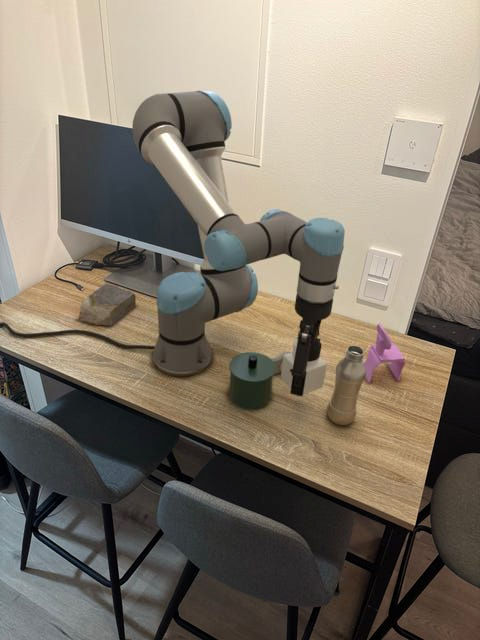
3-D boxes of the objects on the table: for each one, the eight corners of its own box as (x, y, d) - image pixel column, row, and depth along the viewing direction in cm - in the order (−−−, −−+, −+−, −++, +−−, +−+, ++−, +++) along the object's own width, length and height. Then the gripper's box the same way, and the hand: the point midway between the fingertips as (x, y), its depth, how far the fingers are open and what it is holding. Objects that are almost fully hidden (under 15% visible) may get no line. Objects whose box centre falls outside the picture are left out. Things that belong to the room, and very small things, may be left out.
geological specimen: (137, 290, 147) (107, 312, 135) (137, 307, 150) (108, 330, 138) (107, 281, 150) (75, 302, 138) (108, 298, 153) (77, 320, 141)
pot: (230, 409, 114) (231, 381, 109) (228, 381, 122) (230, 354, 117) (272, 409, 115) (275, 381, 110) (268, 381, 123) (271, 354, 118)
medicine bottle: (304, 369, 115) (311, 328, 109) (323, 387, 110) (331, 345, 104) (279, 378, 112) (284, 336, 106) (297, 397, 107) (304, 354, 100)
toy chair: (402, 383, 125) (417, 336, 116) (370, 385, 123) (382, 337, 115) (390, 363, 132) (403, 317, 123) (359, 364, 130) (370, 318, 122)
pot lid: (229, 384, 109) (230, 372, 107) (228, 355, 118) (228, 343, 116) (277, 385, 110) (279, 372, 108) (272, 355, 119) (273, 343, 117)
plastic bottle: (338, 404, 117) (353, 337, 106) (359, 421, 113) (378, 353, 101) (319, 415, 114) (333, 347, 103) (340, 433, 109) (357, 364, 98)
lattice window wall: (306, 361, 130) (309, 343, 127) (309, 365, 129) (312, 347, 126) (267, 372, 126) (269, 354, 122) (270, 376, 124) (272, 358, 121)
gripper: (322, 328, 88) (307, 416, 101) (342, 274, 106) (327, 355, 119) (283, 319, 90) (272, 407, 103) (308, 268, 108) (297, 348, 120)
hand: (301, 379), depth 111 cm, fingers closed on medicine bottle, 10 cm apart
